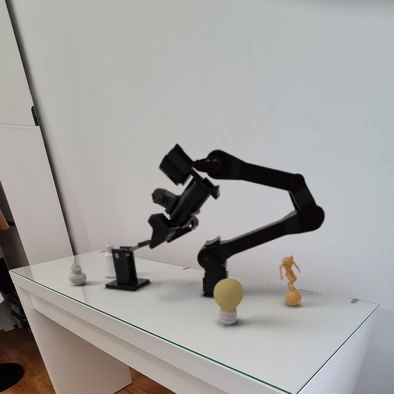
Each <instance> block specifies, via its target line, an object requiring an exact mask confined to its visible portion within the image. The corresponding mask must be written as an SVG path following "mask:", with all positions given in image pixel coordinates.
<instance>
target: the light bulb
mask: <svg viewBox="0 0 394 394" xmlns="http://www.w3.org/2000/svg"><path fill="white" fill-rule="evenodd" d="M244 295H245V292H244V287H243V285H242V283H241V282H240V281H238V280H237V279H234V278H229V277H228V279H223V280H221V281H220V282H218V283H217V284H216V286H215V288H214V297H213V298H214V302H215V303H216V305H218V307H219V308H220V309H219V322H220V323H222V325H227V326H229V325H233V324H235V323H236V322H237V316H238V314H237V312H238V310H237V308H238V307H239V305H240V304H241V303H242V300H243V298H244Z"/></svg>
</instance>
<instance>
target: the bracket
mask: <svg viewBox="0 0 394 394" xmlns="http://www.w3.org/2000/svg"><path fill="white" fill-rule="evenodd" d="M118 247H119V248H116V247H115V248H113V249H111V251H112V257H113V262H114V268H115V273H116V278H115V279H113V280H111V281H109V282H107V283H105V284H104V286H105V289H110V290H118V291H128V292H136V291H138V290H140V289H142V288H143V287H145V286H147V285H149V284H151V280H150V278H141V277H138V273H137V272H138V271H137V265H136V260H135V259H136V258H135V253H134V251H132V252H130V253H129V254H130V256H128V257H126V253H125V249H124V248H127V250H128V249H130V248H132V247H134V246H132V245H131V246H130V245H120V246H118Z"/></svg>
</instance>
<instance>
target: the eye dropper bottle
mask: <svg viewBox="0 0 394 394" xmlns="http://www.w3.org/2000/svg"><path fill="white" fill-rule="evenodd" d="M113 248H114V245H113V244H111V241H109V240H108V241H107V244H106V246H105V249H106V252H105V253H104V254H103V256H102V258H103V263H104V269H105V273H106V276H107V278H112V279H117V278H116V273H115V268H114V262H113V257H112V251H111V249H113Z"/></svg>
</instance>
